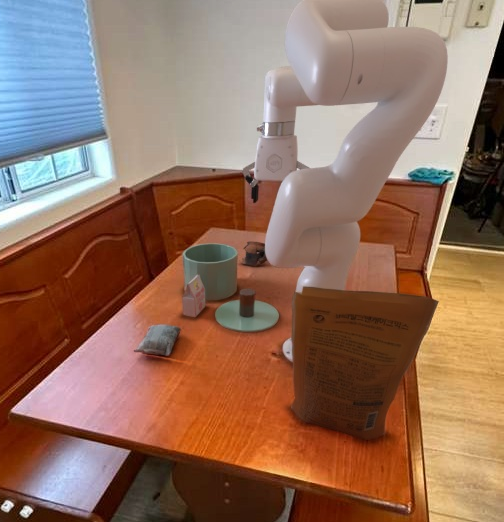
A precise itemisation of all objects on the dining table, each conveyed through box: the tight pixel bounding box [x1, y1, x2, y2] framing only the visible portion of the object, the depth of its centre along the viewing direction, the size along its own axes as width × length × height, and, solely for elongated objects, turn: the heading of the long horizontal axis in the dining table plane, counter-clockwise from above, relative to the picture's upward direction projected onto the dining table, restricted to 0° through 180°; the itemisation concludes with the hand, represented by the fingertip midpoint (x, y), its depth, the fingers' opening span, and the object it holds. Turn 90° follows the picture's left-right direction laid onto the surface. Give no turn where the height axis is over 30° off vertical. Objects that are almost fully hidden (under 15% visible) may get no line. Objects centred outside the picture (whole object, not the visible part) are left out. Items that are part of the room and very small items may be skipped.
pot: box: [182, 242, 239, 301], centre depth 119 cm, size 16×16×12 cm
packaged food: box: [133, 324, 182, 357], centre depth 96 cm, size 9×12×5 cm
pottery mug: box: [241, 240, 268, 267], centre depth 137 cm, size 12×10×8 cm
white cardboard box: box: [181, 275, 206, 318], centre depth 109 cm, size 4×7×10 cm, turn 153°
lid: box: [214, 288, 280, 333], centre depth 105 cm, size 17×17×8 cm
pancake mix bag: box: [290, 286, 440, 441], centre depth 65 cm, size 7×19×28 cm, turn 62°
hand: (273, 202), depth 106 cm, fingers open, 9 cm apart
